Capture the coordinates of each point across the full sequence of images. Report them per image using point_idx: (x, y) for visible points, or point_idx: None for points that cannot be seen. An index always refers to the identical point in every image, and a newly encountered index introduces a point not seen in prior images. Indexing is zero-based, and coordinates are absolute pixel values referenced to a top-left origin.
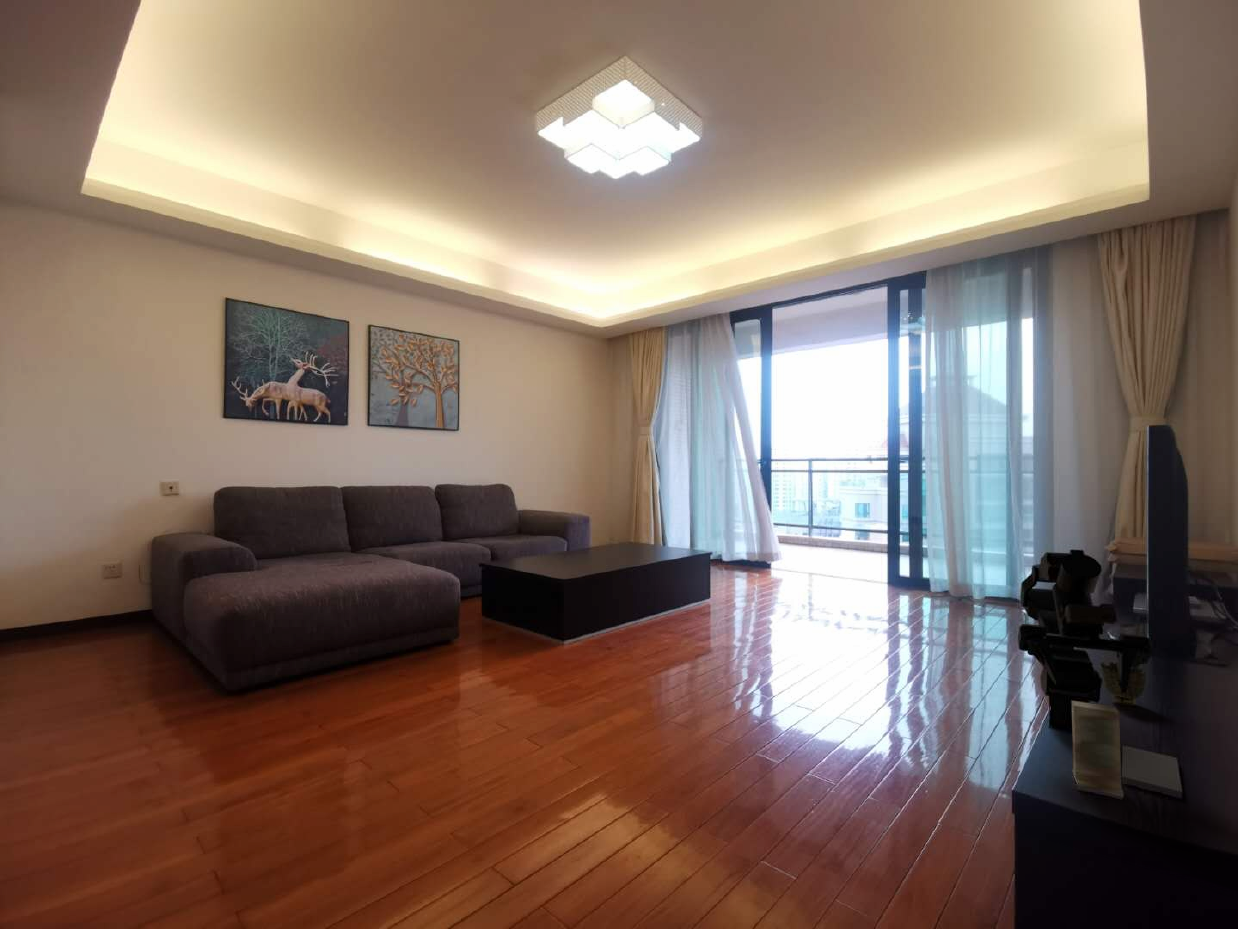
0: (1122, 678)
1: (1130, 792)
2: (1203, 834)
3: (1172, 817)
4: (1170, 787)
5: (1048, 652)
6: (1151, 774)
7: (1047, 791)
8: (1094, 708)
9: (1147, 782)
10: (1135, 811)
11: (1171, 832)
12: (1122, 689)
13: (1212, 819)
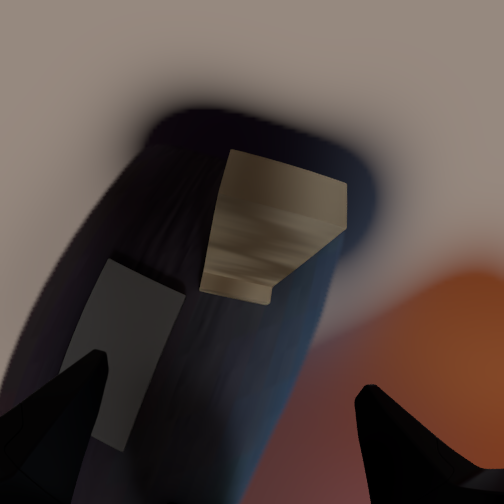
0: (77, 389)
1: (186, 267)
2: (150, 168)
3: (163, 200)
4: (118, 270)
5: (457, 476)
6: (123, 321)
7: None
8: (295, 168)
9: (149, 280)
10: (210, 204)
11: (191, 162)
12: (103, 372)
13: (108, 211)
